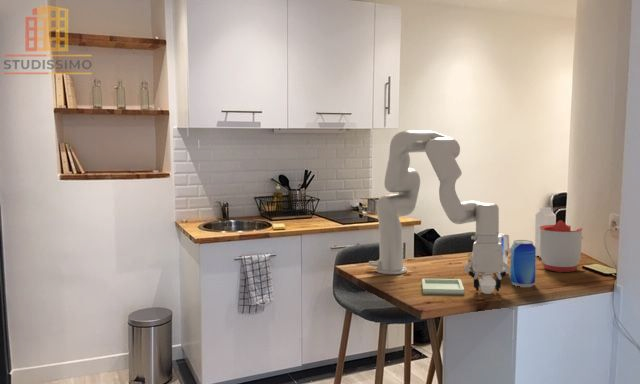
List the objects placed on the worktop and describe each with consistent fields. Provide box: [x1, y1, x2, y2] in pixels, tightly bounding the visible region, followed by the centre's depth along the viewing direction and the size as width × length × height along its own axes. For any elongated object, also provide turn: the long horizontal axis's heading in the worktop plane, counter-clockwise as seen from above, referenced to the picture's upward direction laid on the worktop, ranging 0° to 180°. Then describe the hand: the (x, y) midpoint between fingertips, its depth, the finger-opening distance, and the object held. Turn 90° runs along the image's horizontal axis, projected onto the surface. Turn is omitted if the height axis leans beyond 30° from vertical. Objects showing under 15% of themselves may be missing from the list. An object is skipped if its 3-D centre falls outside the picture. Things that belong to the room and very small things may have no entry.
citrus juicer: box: [540, 219, 584, 273], centre depth 215 cm, size 16×17×20 cm
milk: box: [534, 206, 557, 258], centre depth 238 cm, size 6×6×22 cm
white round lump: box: [478, 273, 496, 295], centre depth 186 cm, size 6×6×7 cm
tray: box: [421, 278, 465, 296], centre depth 193 cm, size 14×14×2 cm
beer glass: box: [494, 233, 511, 275], centre depth 213 cm, size 7×7×15 cm
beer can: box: [510, 239, 536, 288], centre depth 194 cm, size 8×8×16 cm
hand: (487, 289), depth 186 cm, fingers closed on white round lump, 6 cm apart
